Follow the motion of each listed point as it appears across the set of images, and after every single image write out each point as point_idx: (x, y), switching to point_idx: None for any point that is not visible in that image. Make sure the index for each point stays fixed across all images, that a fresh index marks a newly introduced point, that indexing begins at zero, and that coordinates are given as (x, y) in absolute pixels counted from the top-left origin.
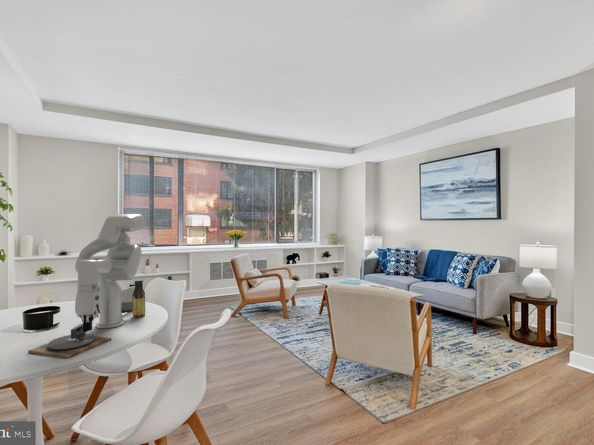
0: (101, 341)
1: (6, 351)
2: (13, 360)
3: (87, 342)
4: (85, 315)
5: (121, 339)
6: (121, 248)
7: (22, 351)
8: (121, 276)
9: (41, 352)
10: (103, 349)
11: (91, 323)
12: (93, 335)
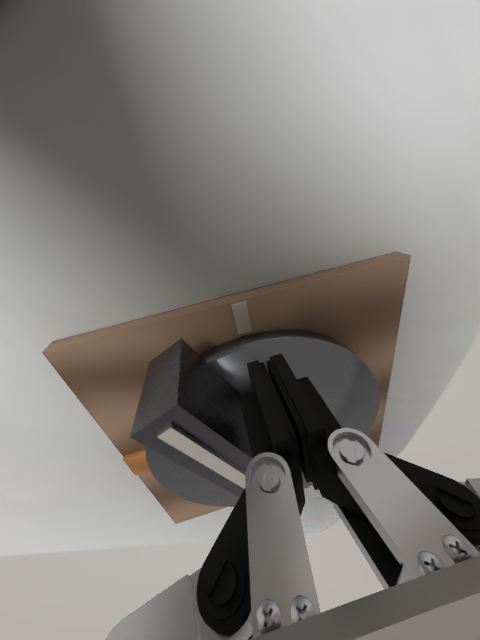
0: (392, 328)
1: (75, 549)
2: (212, 531)
3: (376, 404)
4: (256, 587)
5: (458, 205)
6: None
7: (132, 521)
8: None
9: None
10: (440, 351)
11: (331, 418)
12: (322, 347)
